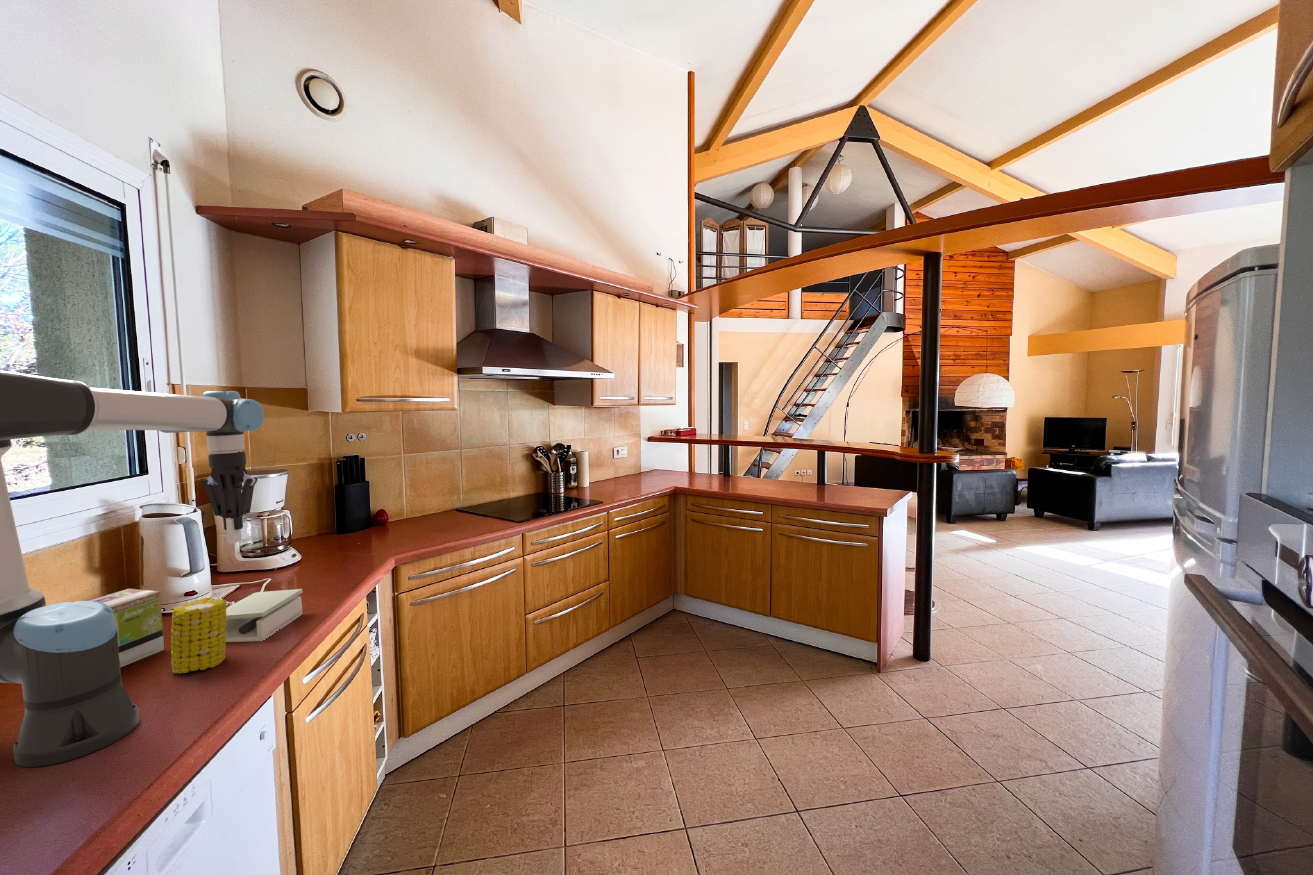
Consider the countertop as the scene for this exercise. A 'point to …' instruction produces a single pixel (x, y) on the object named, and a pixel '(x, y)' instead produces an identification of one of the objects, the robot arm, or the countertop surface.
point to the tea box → (136, 623)
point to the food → (198, 635)
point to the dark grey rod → (249, 625)
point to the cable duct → (264, 623)
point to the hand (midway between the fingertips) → (234, 541)
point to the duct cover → (260, 603)
